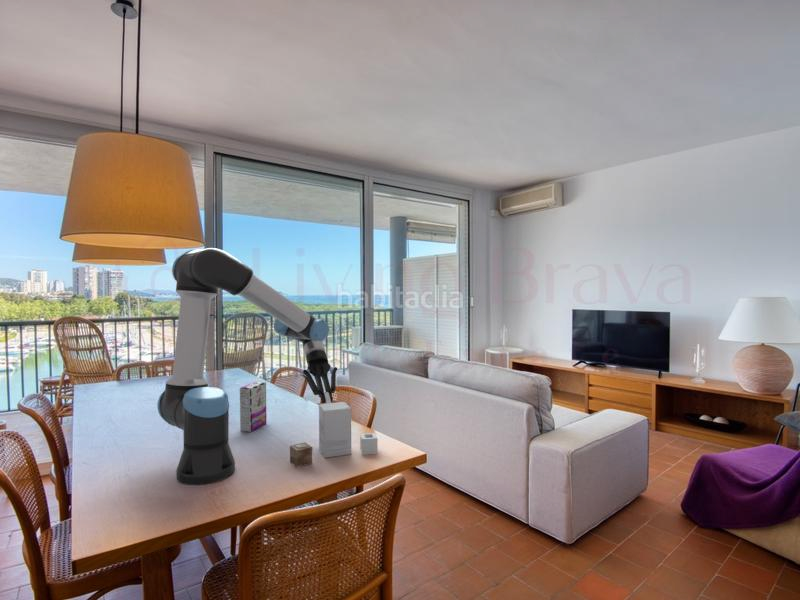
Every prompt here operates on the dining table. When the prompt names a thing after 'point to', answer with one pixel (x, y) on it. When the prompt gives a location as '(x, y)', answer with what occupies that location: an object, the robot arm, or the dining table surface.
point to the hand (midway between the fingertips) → (329, 410)
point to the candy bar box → (252, 406)
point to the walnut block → (301, 454)
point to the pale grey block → (368, 443)
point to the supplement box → (334, 429)
